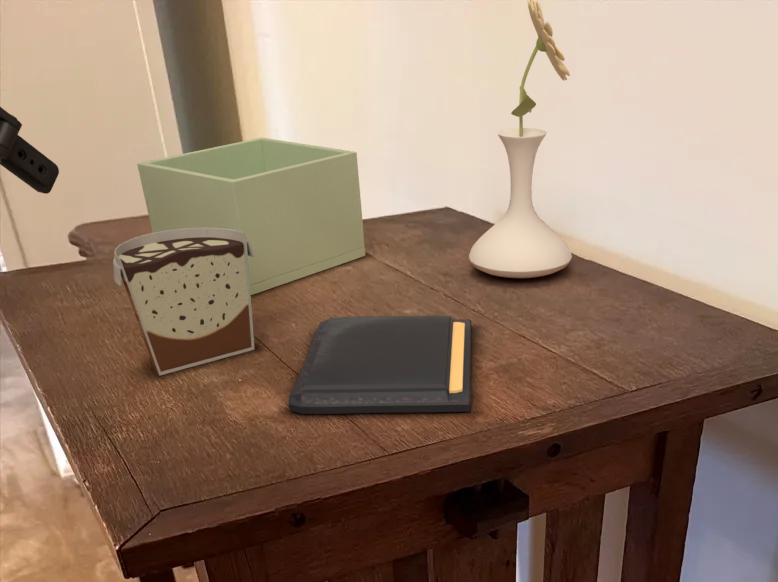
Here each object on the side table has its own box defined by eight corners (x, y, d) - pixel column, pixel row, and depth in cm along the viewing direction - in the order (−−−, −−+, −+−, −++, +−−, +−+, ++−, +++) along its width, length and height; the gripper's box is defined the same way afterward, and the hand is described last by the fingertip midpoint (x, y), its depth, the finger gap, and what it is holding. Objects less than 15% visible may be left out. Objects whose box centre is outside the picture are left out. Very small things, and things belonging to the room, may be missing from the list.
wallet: (319, 307, 88) (477, 307, 87) (321, 327, 89) (478, 327, 88) (276, 392, 72) (469, 392, 71) (280, 415, 73) (470, 415, 73)
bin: (160, 269, 104) (136, 163, 97) (275, 235, 115) (261, 137, 108) (251, 295, 97) (232, 181, 90) (365, 255, 108) (356, 151, 101)
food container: (237, 328, 89) (218, 218, 83) (269, 345, 85) (250, 231, 79) (115, 360, 83) (84, 244, 77) (143, 380, 79) (112, 259, 73)
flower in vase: (557, 291, 96) (568, 3, 81) (455, 282, 99) (447, 2, 84) (584, 257, 106) (599, -6, 90) (490, 250, 109) (489, -7, 93)
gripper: (-147, -69, 49) (98, 138, 63) (-253, -67, 56) (-11, 119, 70) (-206, 58, 49) (52, 236, 63) (-304, 45, 56) (-52, 208, 70)
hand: (19, 174), depth 67 cm, fingers open, 8 cm apart
